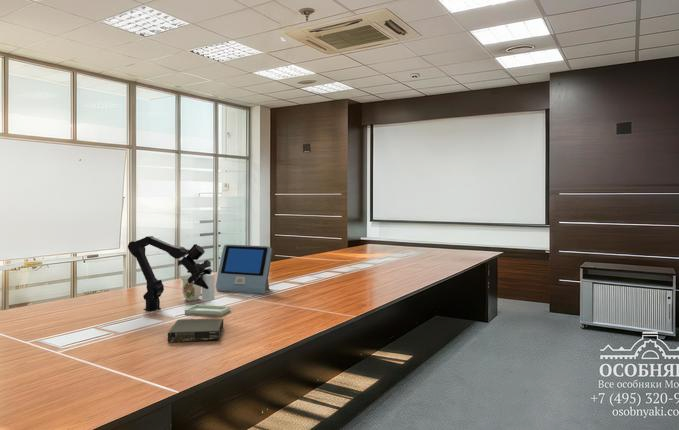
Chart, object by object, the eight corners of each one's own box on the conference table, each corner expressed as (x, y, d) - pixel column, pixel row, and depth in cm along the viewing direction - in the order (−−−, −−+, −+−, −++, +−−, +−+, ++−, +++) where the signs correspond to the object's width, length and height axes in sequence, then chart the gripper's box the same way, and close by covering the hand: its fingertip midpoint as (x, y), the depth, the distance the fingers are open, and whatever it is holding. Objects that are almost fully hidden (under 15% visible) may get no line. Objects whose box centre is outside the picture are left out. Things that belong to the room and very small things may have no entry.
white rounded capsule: (203, 301, 239) (204, 276, 239) (200, 299, 245) (200, 274, 244) (216, 300, 243) (216, 275, 242) (212, 297, 248) (212, 274, 247)
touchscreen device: (214, 291, 298) (215, 245, 298) (229, 286, 317) (230, 243, 317) (263, 295, 288) (264, 247, 288) (276, 290, 307) (277, 245, 307)
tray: (184, 314, 239) (184, 309, 239) (195, 308, 251) (195, 304, 251) (220, 316, 236) (220, 311, 235) (230, 310, 247) (230, 306, 247)
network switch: (166, 345, 190) (166, 333, 189) (171, 330, 212) (171, 319, 212) (224, 341, 196) (224, 330, 196) (223, 326, 218) (223, 316, 218)
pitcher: (205, 301, 268) (205, 278, 268) (175, 301, 268) (175, 278, 268) (211, 297, 279) (211, 275, 279) (181, 297, 279) (181, 274, 279)
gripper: (193, 257, 234) (213, 280, 233) (208, 253, 252) (227, 274, 251) (178, 272, 235) (199, 294, 234) (195, 267, 254) (214, 287, 253)
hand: (210, 287), depth 243 cm, fingers closed on white rounded capsule, 6 cm apart
